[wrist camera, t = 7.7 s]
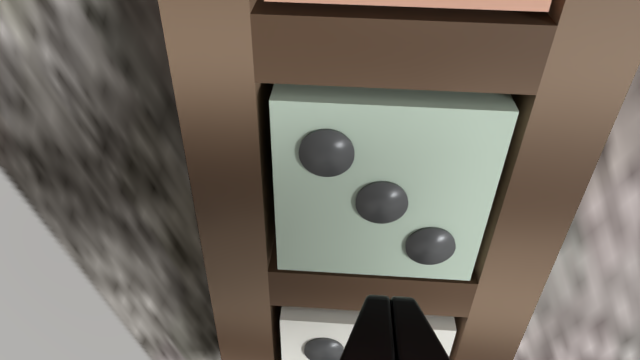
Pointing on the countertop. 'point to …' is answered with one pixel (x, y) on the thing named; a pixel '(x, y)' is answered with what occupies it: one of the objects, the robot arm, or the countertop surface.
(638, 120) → the countertop surface
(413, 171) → the three dot button
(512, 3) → the one dot button
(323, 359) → the two dot button
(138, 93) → the countertop surface
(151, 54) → the countertop surface
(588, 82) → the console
